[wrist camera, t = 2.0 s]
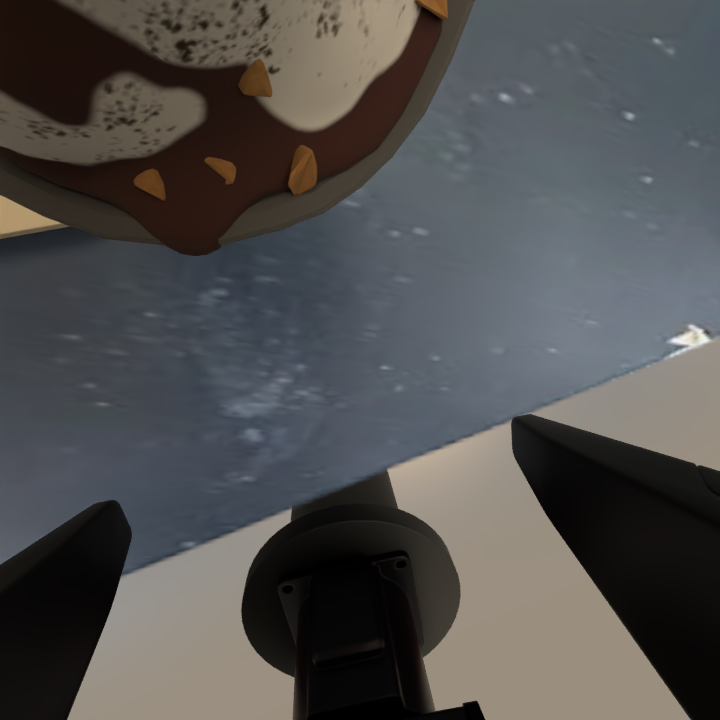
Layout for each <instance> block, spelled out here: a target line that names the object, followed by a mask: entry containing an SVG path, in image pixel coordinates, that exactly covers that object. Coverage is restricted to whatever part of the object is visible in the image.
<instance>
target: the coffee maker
mask: <svg viewBox="0 0 720 720" xmlns="http://www.w3.org/2000/svg"><path fill="white" fill-rule="evenodd" d="M65 227H70V226H68V225H65V224H62V223H59V222H57V221H54V220H51V219H48V218H45V217H43V216H41V215H39V214H37V213H35V212H33V211H31V210H29V209H27V208H25V207H23V206H21V205H19V204H17V203H15V202H13V201H11V200H9V199H7V198H5V197H3V196H1V195H0V239H4V238H9V237H15V236H20V235H26V234H32V233H37V232H43V231H48V230H54V229H59V228H65Z"/></svg>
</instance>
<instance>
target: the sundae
mask: <svg viewBox="0 0 720 720" xmlns="http://www.w3.org/2000/svg"><path fill="white" fill-rule="evenodd" d="M474 1H475V0H0V195H1V196H3V197H5V198H7V199H9V200H11V201H13V202H15V203H17V204H19V205H21V206H23V207H25V208H27V209H29V210H31V211H33V212H35V213H37V214H39V215H41V216H43V217H45V218H48V219H51V220H54V221H57V222H59V223H62V224H65V225H68V226H70V227H73V228H76V229H79V230H81V231H84V232H87V233H90V234H93V235H95V236H98V237H101V238H104V239H112V240H121V241H130V242H139V243H148V244H157V245H165V246H167V247H169V248H171V249H173V250H175V251H177V252H179V253H181V254H186V255H192V256H200V255H207V254H210V253H212V252H214V251H216V250H218V249H219V248H220V247H221V246H222V245H223V244H228V243H232V242H236V241H240V240H243V239H247V238H251V237H255V236H259V235H263V234H266V233H270V232H274V231H278V230H281V229H284V228H286V227H289V226H291V225H294V224H297V223H299V222H302V221H304V220H307V219H309V218H312V217H315V216H317V215H320V214H322V213H324V212H325V211H327V210H328V209H330V208H331V207H333V206H334V205H336V204H337V203H339V202H340V201H342V200H343V199H345V198H346V197H347V196H349V195H350V194H352V193H353V192H355V191H356V190H358V189H359V188H361V187H362V186H363V185H364V184H365V183H366V182H367V181H368V180H369V179H370V178H371V177H372V176H373V175H374V174H375V173H376V172H377V171H378V170H379V169H380V168H381V167H382V166H383V165H384V164H385V163H386V162H387V161H389V160H390V159H391V158H392V157H393V155H394V154H395V153H396V151H397V150H398V149H399V147H400V146H401V145H402V143H403V142H404V141H405V139H406V138H407V137H408V135H409V134H410V133H411V131H412V130H413V129H414V127H415V126H416V125H417V123H418V122H419V121H420V119H421V118H422V117H423V115H424V114H425V112H426V110H427V108H428V106H429V104H430V102H431V100H432V98H433V96H434V94H435V92H436V90H437V88H438V86H439V84H440V82H441V80H442V78H443V76H444V74H445V72H446V70H447V68H448V66H449V64H450V62H451V60H452V58H453V55H454V53H455V50H456V47H457V45H458V42H459V40H460V37H461V34H462V32H463V29H464V27H465V24H466V21H467V19H468V16H469V14H470V11H471V9H472V6H473V3H474Z"/></svg>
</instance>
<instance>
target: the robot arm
mask: <svg viewBox="0 0 720 720" xmlns="http://www.w3.org/2000/svg"><path fill="white" fill-rule="evenodd" d="M511 429H512V449H513V453H514V457H515V459H516V461H517V463H518V465H519V466H520V468H521V470H522V472H523V474H524V476H525V477H526V479H527V481H528V483H529V485H530V486H531V488H532V490H533V492H534V494H535V496H536V497H537V499H538V501H539V503H540V504H541V506H542V508H543V510H544V511H545V513H546V515H547V516H548V518H549V519H550V521H551V522H552V524H553V525H554V527H555V528H556V530H557V531H558V532H559V534H560V535H561V536H562V538H563V539H564V541H565V542H566V544H567V545H568V546H569V548H570V549H571V551H572V552H573V553H574V555H575V556H576V558H577V559H578V561H579V562H580V564H581V565H582V566H583V568H584V569H585V570H586V572H587V573H588V575H589V576H590V577H591V579H592V580H593V582H594V583H595V585H596V586H597V588H598V589H599V590H600V592H601V593H602V595H603V596H604V598H605V599H606V600H607V601H608V603H609V605H610V606H611V607H612V609H613V610H614V611H615V613H616V615H617V616H618V617H619V619H620V620H621V622H622V623H623V625H624V626H625V627H626V629H627V630H628V632H629V633H630V634H631V636H632V637H633V639H634V640H635V642H636V643H637V644H638V646H639V647H640V649H641V650H642V651H643V653H644V654H645V656H646V657H647V659H648V660H649V661H650V663H651V664H652V666H653V667H654V668H655V670H656V671H657V673H658V674H659V676H660V677H661V678H662V680H663V681H664V683H665V684H666V685H667V687H668V688H669V689H670V691H671V693H672V694H673V695H674V697H675V698H676V700H677V701H678V702H679V704H680V705H681V707H682V708H683V710H684V711H685V712H686V714H687V715H688V717H689V718H690V719H691V720H720V471H717V470H714V469H711V468H707V467H704V466H696V465H695V464H694V463H691V462H687V461H684V460H681V459H677V458H674V457H671V456H667V455H664V454H661V453H658V452H654V451H651V450H647V449H644V448H641V447H637V446H634V445H631V444H627V443H624V442H621V441H617V440H614V439H611V438H607V437H604V436H601V435H598V434H595V433H591V432H588V431H585V430H581V429H578V428H574V427H571V426H568V425H565V424H561V423H558V422H555V421H551V420H548V419H544V418H541V417H538V416H535V415H532V414H527V415H522V416H518V417H514V418H513V419H512V423H511ZM131 539H132V531H131V527H130V525H129V523H128V521H127V519H126V517H125V514H124V512H123V510H122V508H121V506H120V504H119V503H118V502H117V501H115V500H109V501H104V502H99V503H96V504H93V505H92V506H90V507H89V508H87V509H86V510H84V511H82V512H81V513H79V514H78V515H76V516H75V517H73V518H72V519H70V520H69V521H67V522H66V523H64V524H62V525H61V526H59V527H58V528H56V529H55V530H53V531H52V532H50V533H49V534H47V535H46V536H44V537H43V538H41V539H39V540H38V541H36V542H35V543H33V544H32V545H30V546H29V547H27V548H26V549H24V550H23V551H21V552H19V553H18V554H16V555H15V556H13V557H12V558H10V559H9V560H7V561H6V562H4V563H3V564H1V565H0V720H67V718H68V716H69V713H70V711H71V708H72V706H73V703H74V701H75V698H76V696H77V693H78V691H79V688H80V686H81V683H82V681H83V678H84V676H85V673H86V671H87V668H88V666H89V663H90V660H91V658H92V656H93V653H94V650H95V648H96V646H97V643H98V641H99V638H100V636H101V633H102V631H103V628H104V626H105V623H106V621H107V618H108V615H109V612H110V610H111V607H112V603H113V601H114V597H115V594H116V591H117V587H118V584H119V581H120V577H121V574H122V570H123V567H124V563H125V560H126V557H127V553H128V550H129V546H130V543H131ZM398 561H401V562H398ZM286 585H291V586H286ZM278 594H279V597H280V600H281V603H282V606H283V609H284V612H285V615H286V618H287V621H288V624H289V627H290V630H291V633H292V636H293V639H294V642H295V646H296V662H295V684H294V704H293V720H485V718H484V716H483V713H482V711H481V709H480V706H479V704H478V702H477V701H472V702H466V703H463V706H462V707H456V708H451V709H445V710H440V711H435V707H434V703H433V699H432V695H431V690H430V686H429V682H428V679H427V674H426V670H425V666H424V661H423V657H422V653H421V649H420V647H421V646H422V645H423V644H424V638H423V632H422V626H421V620H420V614H419V609H418V603H417V597H416V591H415V585H414V579H413V573H412V567H411V562H410V558H409V555H408V553H407V552H406V551H403V550H397V551H392V552H388V553H383V554H379V555H374V556H369V557H365V558H360V559H355V560H351V561H346V562H342V563H337V564H332V565H328V566H323V567H318V568H314V569H309V570H305V571H300V572H295V573H291V574H286V575H284V576H282V577H281V578H280V579H279V581H278Z"/></svg>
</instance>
